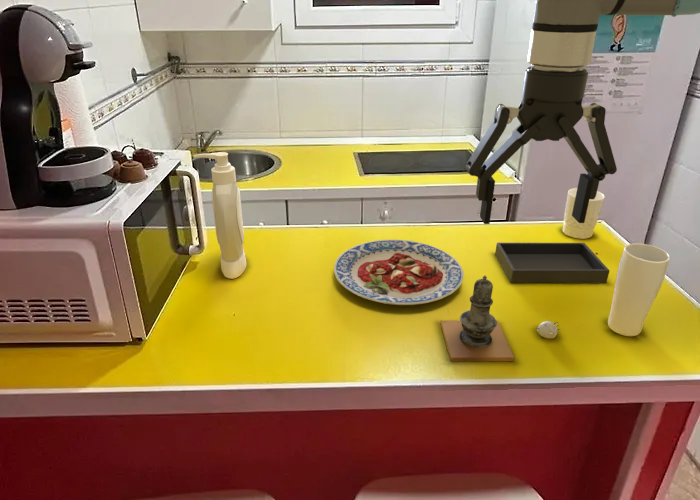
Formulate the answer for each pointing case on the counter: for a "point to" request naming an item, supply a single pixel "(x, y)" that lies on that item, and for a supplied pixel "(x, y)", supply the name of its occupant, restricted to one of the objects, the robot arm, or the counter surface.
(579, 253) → the tray
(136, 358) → the counter surface
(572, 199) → the white cup
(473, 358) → the cork mat
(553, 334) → the cream rounded lump
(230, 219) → the soap bottle
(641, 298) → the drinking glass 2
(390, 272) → the ceramic plate
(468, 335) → the salt shaker
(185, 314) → the counter surface
